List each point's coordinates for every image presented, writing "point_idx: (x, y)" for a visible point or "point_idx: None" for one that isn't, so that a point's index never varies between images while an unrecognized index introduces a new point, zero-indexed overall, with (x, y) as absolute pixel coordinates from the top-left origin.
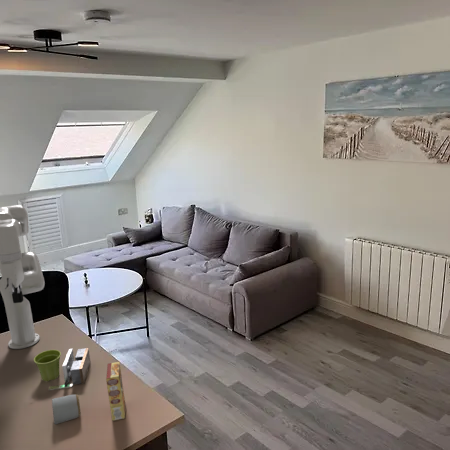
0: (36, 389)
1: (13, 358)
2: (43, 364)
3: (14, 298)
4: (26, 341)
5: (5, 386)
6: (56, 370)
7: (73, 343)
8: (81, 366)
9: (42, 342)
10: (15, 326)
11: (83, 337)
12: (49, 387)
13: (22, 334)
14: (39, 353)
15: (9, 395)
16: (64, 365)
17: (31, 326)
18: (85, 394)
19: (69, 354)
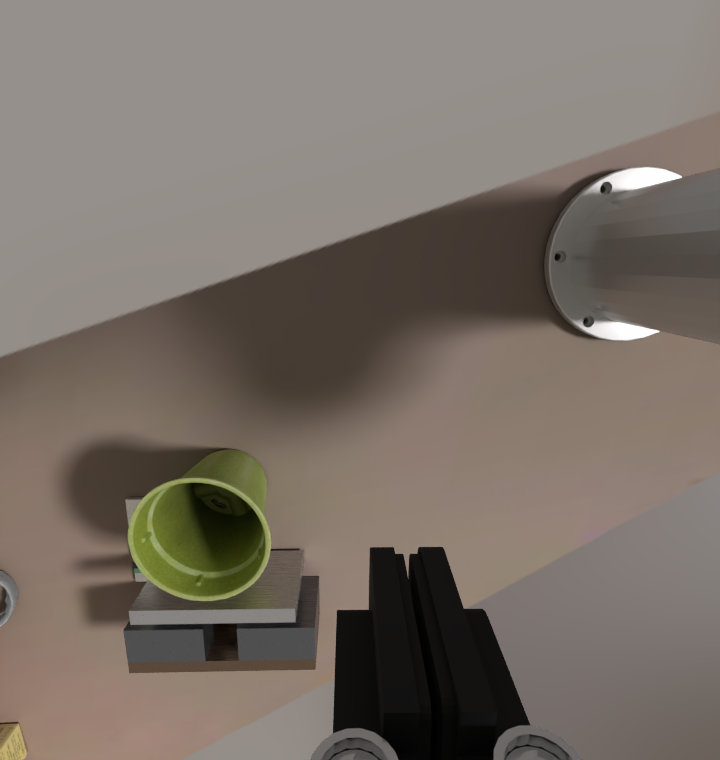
0: (141, 446)
1: (450, 251)
2: (137, 531)
3: (338, 655)
4: (582, 290)
5: (185, 298)
6: (200, 535)
7: (511, 517)
8: (148, 668)
9: (580, 362)
10: (649, 243)
11: (556, 551)
12: (138, 500)
13: (606, 279)
14: (239, 493)
15: (109, 341)
16: (132, 618)
17: (663, 331)
18: (84, 631)
19: (235, 620)
